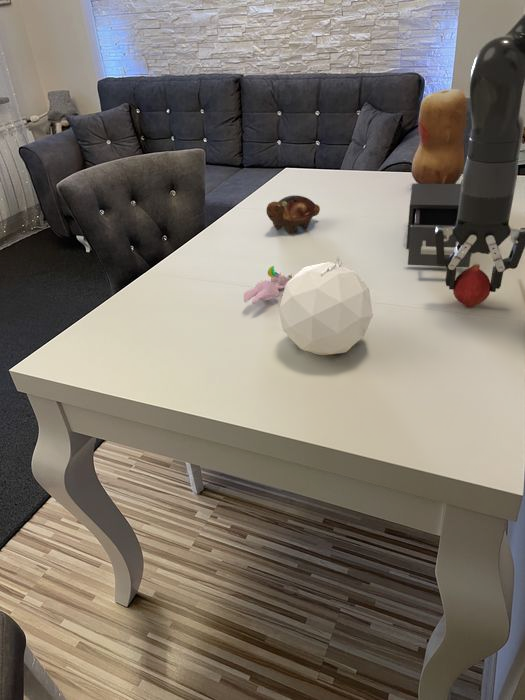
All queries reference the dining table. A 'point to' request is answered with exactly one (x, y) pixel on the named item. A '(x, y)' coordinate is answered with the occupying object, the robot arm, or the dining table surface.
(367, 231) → the dining table surface
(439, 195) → the cabinet
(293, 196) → the decorative turtle
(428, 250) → the drawer
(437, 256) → the robot arm
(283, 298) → the geodesic sphere
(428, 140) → the butternut squash
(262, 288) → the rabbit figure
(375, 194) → the dining table surface
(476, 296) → the onion
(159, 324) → the dining table surface
